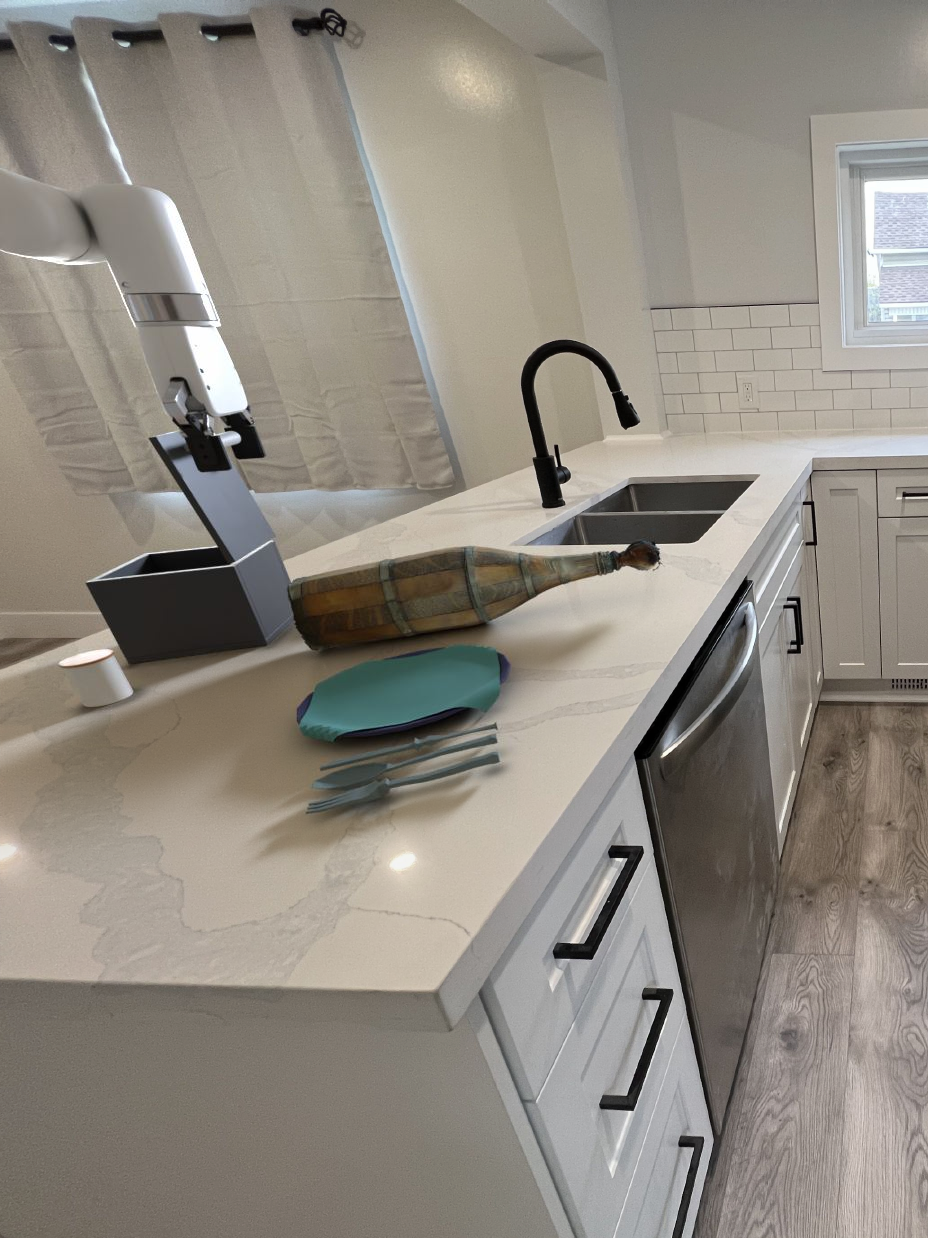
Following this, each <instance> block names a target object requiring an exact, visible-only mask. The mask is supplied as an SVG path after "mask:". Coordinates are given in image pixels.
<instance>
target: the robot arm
mask: <svg viewBox="0 0 928 1238" xmlns="http://www.w3.org/2000/svg"><path fill="white" fill-rule="evenodd" d="M185 229H186V228H185V225H184V224H183V222H182V219H181V216H180V213H179V210H178V209H177V206H176V204H175V203H174V201H173V200H172V199H171V198H170V197H169V195H167V194H166V193H164V192H163V191H161V190H159V189H155V188H152V187H148V186H143V185H138V184H137V185H136V184H128V183H114V182H113V183H112V182H111V183H109V182H108V183H107V182H106V183H105V182H103V183H101V182H99V183H91V184H88V185H85V186H84V187H82V188H81V190H74V189H69V188H61V187H58V186H54V185H51V184H47V183H44V182H42V181H39V180H37V179H34V178H31V177H28V176H25V175H22V174H20V173H17V172H14V171H11V170H8V169H5V168H2V167H0V252H4V253H7V254H11V255H15V256H19V257H25V258H31V259H36V260H41V261H45V262H50V263H56V264H62V265H69V266H70V265H71V266H73V265H75V266H76V265H77V266H79V265H89V264H98V263H107V265H108V267H109V270H110V272H111V274H112V277H113V279H114V282H115V284H116V286H117V289H118V291H119V294H120V295H121V298H122V301H123V302H124V305H125V307H126V309H127V312H128V314H129V317H130V319H131V321H132V323H133V326H134V328H135V329H136V330H137V335H138V340H139V345H140V347H141V351H142V355H143V358H144V362H145V364H146V368H147V369H148V373H149V376H150V378H151V380H152V384H153V387H154V389H155V392H156V395H157V397H158V399H159V402H160V405H161V408H162V409H163V411H164V414H165V415H166V416H168V417H169V418H171V421H172V423H173V424H175V425H176V426H177V428H178V431H179V432H180V434H181V436H182V437H183V438H185V441H186V443H187V446H188V448H189V450H190V453H191V455H192V457H193V460H194V462H195V464H196V467H197V469H198V471H200V472H216V471H228V470H231V469H232V465H231V462H230V460H231V459H230V460H229V458H230V456H229V455H228V452H227V449H226V447H224V445H223V442H222V440H221V437H220V435H216V436H214V433H215V418H219V419H220V420H221V421H222V422H223V423H224V425H225V426H227V427H223V430H224V432H228V431H234V432H236V433H238V434H239V435H240V437H241V441H240V442H239V443H238V444H235V445H231V446H230V447H231V448H230V449H231V450H232V453H233V456H234V458H235V459H236V460H239V461H240V460H254V459H264V458H266V456H267V453H266V450H265V448H264V446H263V442H262V440H261V438H260V435H259V432H258V430H257V426H256V421H255V419H254V416H252V415H251V410H252V409H251V406H250V405H249V404H248V400H247V399H248V398H247V394H246V393H247V392H246V391H245V388H243V385H242V382H241V379H240V377H239V374H238V372H237V370H236V368H235V365H234V363H233V360H232V359H231V356H230V354H229V351H228V349H227V348H226V345H225V343H224V341H223V339H222V338H221V337H222V336H221V335H220V333H219V331H218V329H217V328H216V327H222V324H221V321H220V318H219V316H218V314H217V311H216V309H215V305H214V303H213V300H212V297H211V296H210V292H209V290H208V287H207V284H206V282H205V279H204V277H203V274H202V272H201V269H200V266H199V262H198V261H197V257H196V255H195V253H194V250H193V248H192V245H191V242H190V240H189V237H188V234H187V232H186V230H185ZM201 421H202V422H201ZM228 456H229V457H228Z"/></svg>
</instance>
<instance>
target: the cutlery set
mask: <svg viewBox="0 0 928 1238" xmlns="http://www.w3.org/2000/svg"><path fill="white" fill-rule="evenodd" d="M511 668H512V666H511V662H510V661H509V660H508V658H507V656H506V655H505V654H503V653H501V652H499V651H498V648H495V647H492V646H485V645H477V644H474V645H473V644H471V643H470V644H469V643H468V644H465V643H460V644H454V645H450V646H444V647H443V646H442V647H436V648H429V649H423V650H422V649H421V650H415V651H410V652H407V653H402V654H398V655H394V656H389V657H386V658H382V659H375V660H368V661H364V662H360V663H359V664H356V665H354V666H352V667H349V668H347V669H344V670H343V671H340V672H338V673H336V674H334V675H332V676H330V677H328V678H325V679H324V680H321V681H320V682H318V683H316V685H314V689H313V691H312V692H311V693H309V694H308V695H307V696H306V697H305V698H304V699H303V700H302V702H301V703H300V704H299V706H298V707H297V708H296V721H295V722H296V723H297V724H298V725H299V726H298V730H299V731H300V732H301V734H302V735H303V736H304V737H307V738H309V739H316V740H324V741H326V742H331V743H336V741H337V739H338V738H355V737H356V738H357V737H372V736H377V735H384V734H389V733H396V732H401V731H407V730H410V729H414V728H417V727H420V726H423V725H427V724H431V723H435V722H437V721H440V720H442V719H445V718H447V717H449V716H451V715H454V714H457V713H459V712H461V711H463V710H465V709H467V708H471V709H475V710H478V711H480V712H483V713H487V712H488V711H489V710H490V709H491V708H492V706H493V705H494V704H495V703H496V701H497V699H498V697H499V696H500V693H501V692H500V691H501V685H502V684H503V683H504V682H506V680H507V679H508V677H509V674H510V670H511ZM491 730H496V731H499V727H498V723H497V721H495V722H494V723H493V724H488V725H485V726H481V727H477V728H475V729H474V728H473V729H471V730H470V729H469V730H462V731H457V732H453V733H449V734H445V735H442V734H441V735H437V734H435V735H434V734H433V735H427V736H426V737H425V738H423V739H419V738H417V737H414V740H413V742H411V743H406V744H400V745H395V746H389V747H385V748H380V749H375V750H372V751H367V752H363V753H359V754H355V755H350V756H347V757H342V758H339V759H335V760H333V761H330V762H327V763H325V764H323V765H321V766H320V767H319V770H320V772H324V771H328V770H331V769H336V768H341V767H344V766H348V767H346V768H341V769H339V770H336V771H333V772H330V773H327V774H326V775H324V776H322V777H320V778H318V779H316V780H313V781H312V784H311V787H310V788H311V789H316V790H317V789H318V790H327V791H329V790H330V791H338V790H347V789H348V791H345V792H342V793H340V794H339V793H338V794H337V795H335V796H331V797H328V798H323V799H320V800H316V801H312V802H308V804H307V805H308V806H306V811H305V814H306V815H310V814H317V813H323V812H326V811H329V810H333V809H338V808H341V807H346V806H352V805H357V804H362V803H366V802H370V801H373V800H378V799H380V798H383V797H385V796H387V795H389V794H390V792H391V789H395V788H400V787H404V786H405V787H406V786H411V785H417V784H423V783H428V782H432V781H436V780H439V779H440V780H441V779H443V778H447V777H450V776H453V775H457V774H458V775H459V774H461V773H464V772H466V771H470V770H473V769H477V768H480V767H485V766H489V765H496V764H498V763H500V762H501V758H500V754H499V752H498V751H497V750H496V751H491V752H489V753H486V754H483V755H479V756H475V757H472V758H469V759H466V760H463V761H460V762H457V763H455V764H452V765H448V766H445V767H442V768H439V769H436V770H435V769H434V770H433V771H428V772H425V773H421V774H415V775H410V776H405V777H400V778H397V779H392V780H390V779H389V778H388V777H385V778H383V779H382V780H380V781H378V780H376V779H378V778H379V777H381V776H382V775H384V774H385V773H389V772H392V771H395V770H398V769H402V768H405V767H408V766H410V765H414V764H415V765H416V764H418V763H422V762H425V761H429V760H432V759H435V758H438V757H442V756H446V755H450V754H454V753H455V754H456V753H459V752H463V751H467V750H472V749H475V748H480V747H486V746H491V745H492V746H493V745H496V744H498V743H499V742H498V737H497V733H496V732H495V733H491V734H489V735H485V736H482V737H478V738H475V739H471V740H468V741H464V742H460V743H457V744H453V745H450V746H447V747H442V748H439V749H437V750H434V751H432V752H428V753H426V754H423V755H419V756H416V757H413V758H410V759H406V760H404V761H402V762H399V763H396V764H392V763H390V762H381V761H380V762H378V761H374V762H368V763H362V764H361V762H366V761H369V760H374V759H378V758H382V757H386V756H390V755H393V754H398V753H402V752H407V751H411V750H415V752H416V753H419V752H420V749H422V748H423V747H429V748H430V747H433V746H435V745H437V744H439V743H441V742H443V741H445V740H449V739H454V738H458V737H462V736H465V735H469V734H475V733H480V732H486V731H491ZM357 763H360V764H357ZM352 764H355V765H352ZM349 765H351V766H349ZM349 789H350V790H349Z"/></svg>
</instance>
